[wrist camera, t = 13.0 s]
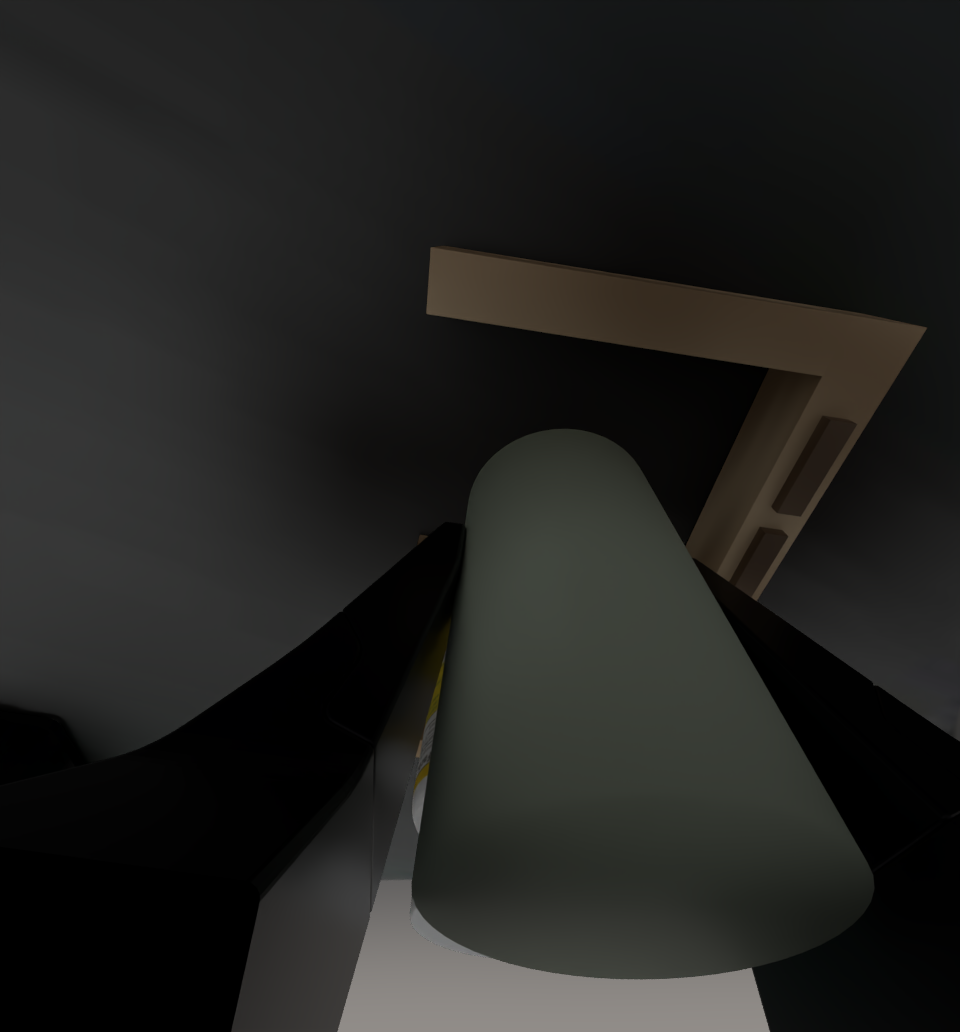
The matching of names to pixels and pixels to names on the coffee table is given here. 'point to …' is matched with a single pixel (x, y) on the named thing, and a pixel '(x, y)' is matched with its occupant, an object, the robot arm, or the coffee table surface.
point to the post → (613, 746)
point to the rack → (721, 336)
